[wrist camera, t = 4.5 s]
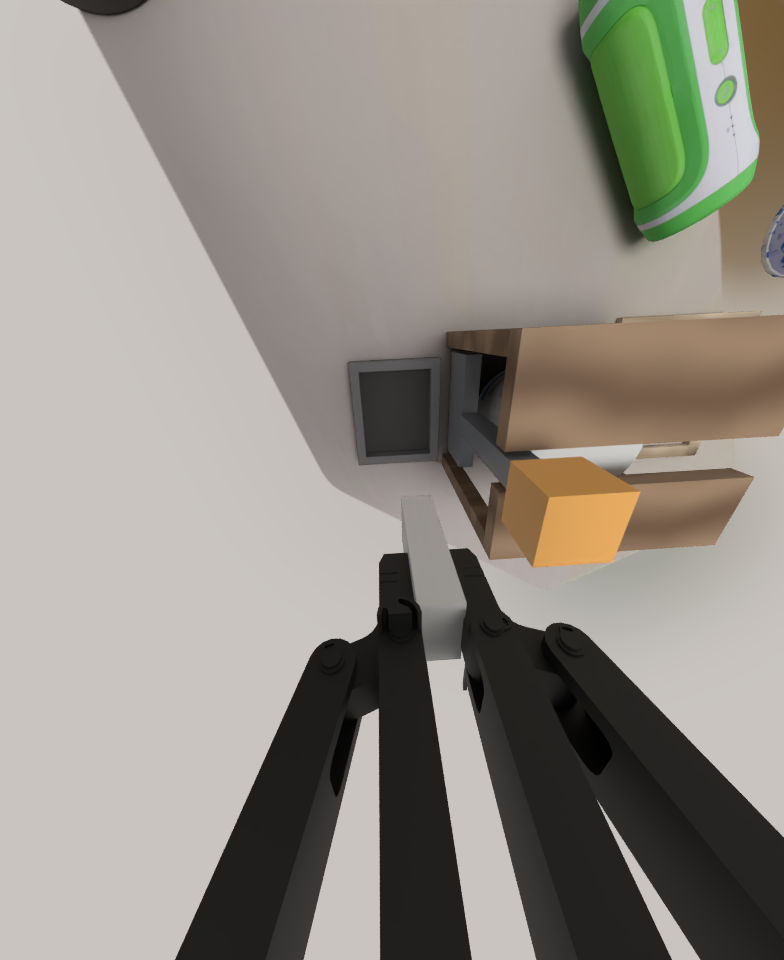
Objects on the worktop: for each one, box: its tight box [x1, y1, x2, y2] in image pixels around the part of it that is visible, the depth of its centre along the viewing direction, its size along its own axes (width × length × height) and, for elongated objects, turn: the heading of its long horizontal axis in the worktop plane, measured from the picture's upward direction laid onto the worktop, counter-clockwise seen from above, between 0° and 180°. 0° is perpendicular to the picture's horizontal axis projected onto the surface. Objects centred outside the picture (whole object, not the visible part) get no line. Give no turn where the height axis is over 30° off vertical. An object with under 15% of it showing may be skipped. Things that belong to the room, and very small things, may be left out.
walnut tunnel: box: [442, 315, 784, 560], centre depth 27 cm, size 16×18×18 cm
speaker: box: [579, 0, 759, 242], centre depth 22 cm, size 18×7×8 cm, turn 39°
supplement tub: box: [477, 370, 643, 475], centre depth 29 cm, size 10×10×15 cm
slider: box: [447, 351, 641, 567], centre depth 24 cm, size 12×4×24 cm, turn 2°
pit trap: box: [348, 357, 441, 465], centre depth 34 cm, size 12×10×2 cm
